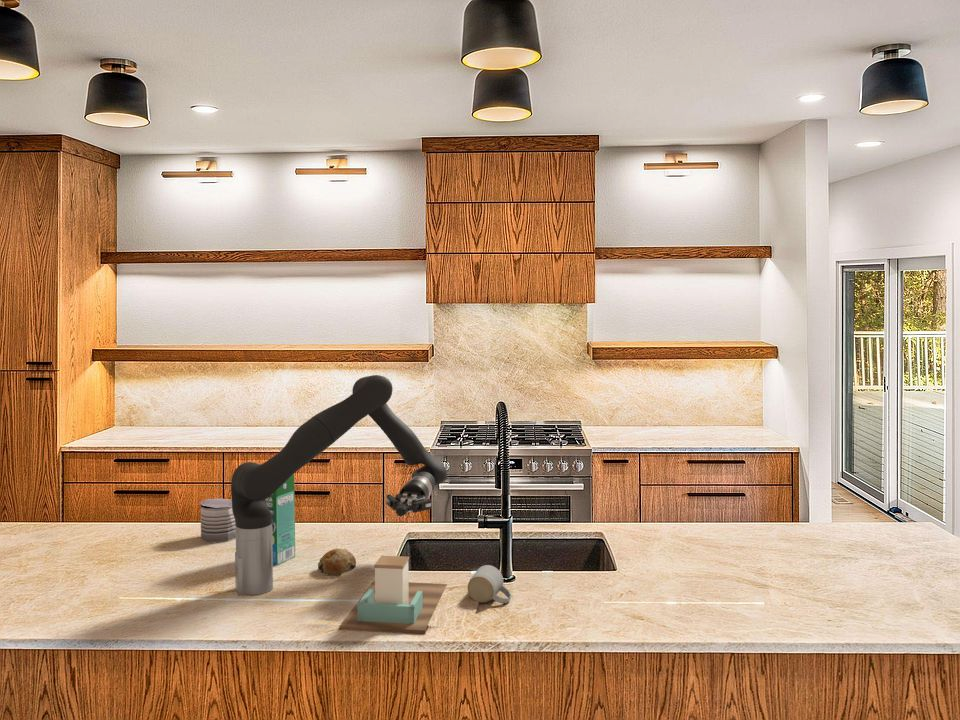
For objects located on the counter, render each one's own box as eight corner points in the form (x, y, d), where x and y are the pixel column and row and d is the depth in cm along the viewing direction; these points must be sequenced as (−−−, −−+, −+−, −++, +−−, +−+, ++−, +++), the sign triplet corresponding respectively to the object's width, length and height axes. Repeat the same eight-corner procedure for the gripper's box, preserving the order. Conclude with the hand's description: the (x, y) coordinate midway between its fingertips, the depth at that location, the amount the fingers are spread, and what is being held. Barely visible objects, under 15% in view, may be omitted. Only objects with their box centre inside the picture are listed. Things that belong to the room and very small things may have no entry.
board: (373, 583, 205) (373, 580, 205) (446, 587, 203) (446, 584, 203) (339, 629, 176) (339, 625, 175) (425, 633, 173) (425, 630, 173)
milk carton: (251, 562, 223) (249, 477, 221) (270, 553, 231) (269, 471, 230) (276, 566, 219) (275, 480, 218) (295, 556, 228) (294, 473, 226)
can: (211, 532, 253) (210, 496, 252) (244, 533, 252) (243, 497, 251) (193, 542, 242) (193, 505, 241) (227, 544, 240) (227, 506, 240)
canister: (381, 606, 187) (381, 555, 186) (409, 608, 186) (408, 556, 185) (374, 617, 180) (374, 564, 179) (403, 619, 179) (402, 565, 179)
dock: (369, 604, 188) (369, 588, 188) (422, 607, 187) (422, 591, 187) (357, 620, 178) (357, 604, 178) (413, 623, 177) (413, 606, 176)
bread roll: (341, 590, 211) (353, 565, 209) (309, 572, 212) (321, 547, 211) (354, 578, 220) (365, 554, 219) (323, 561, 222) (334, 537, 221)
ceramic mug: (465, 602, 192) (466, 573, 191) (475, 591, 200) (476, 562, 199) (506, 608, 189) (506, 578, 188) (514, 597, 196) (515, 567, 196)
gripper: (393, 476, 214) (376, 495, 197) (440, 481, 212) (425, 501, 195) (392, 502, 215) (374, 523, 198) (438, 507, 213) (424, 529, 196)
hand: (400, 512), depth 197 cm, fingers closed
